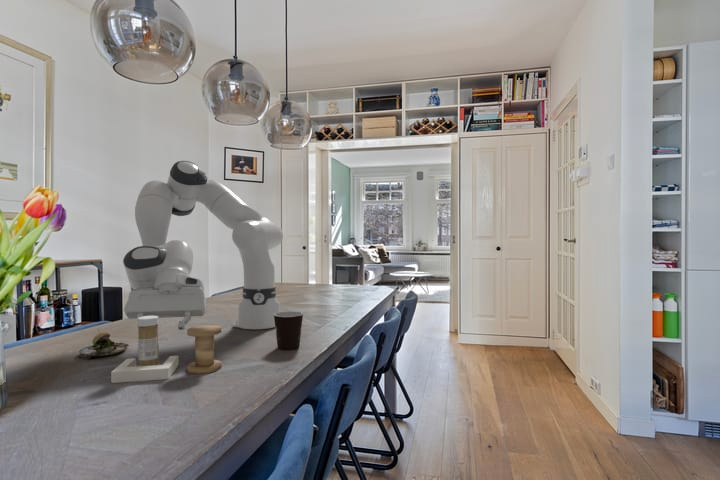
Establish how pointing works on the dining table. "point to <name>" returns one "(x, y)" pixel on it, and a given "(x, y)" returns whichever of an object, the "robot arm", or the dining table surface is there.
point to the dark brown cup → (288, 329)
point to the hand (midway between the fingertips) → (161, 329)
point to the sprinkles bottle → (148, 340)
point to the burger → (102, 347)
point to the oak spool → (204, 349)
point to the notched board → (143, 371)
